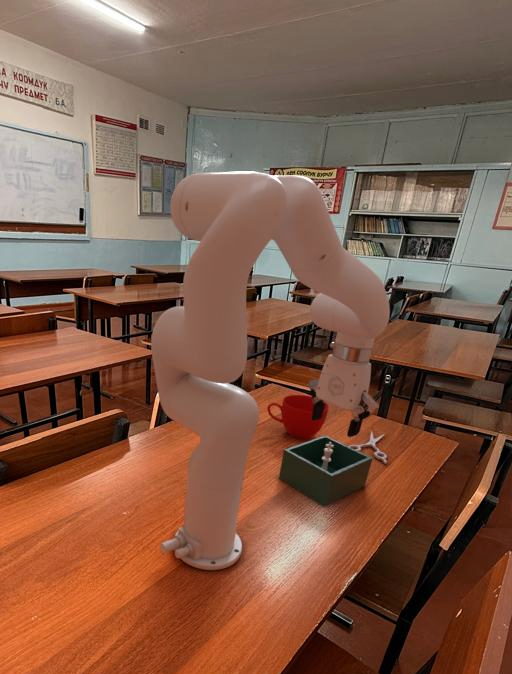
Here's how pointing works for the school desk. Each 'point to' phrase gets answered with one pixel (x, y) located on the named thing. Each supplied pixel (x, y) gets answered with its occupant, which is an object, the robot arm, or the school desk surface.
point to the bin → (318, 483)
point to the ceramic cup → (299, 416)
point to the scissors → (372, 444)
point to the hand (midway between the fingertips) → (333, 427)
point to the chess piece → (327, 456)
